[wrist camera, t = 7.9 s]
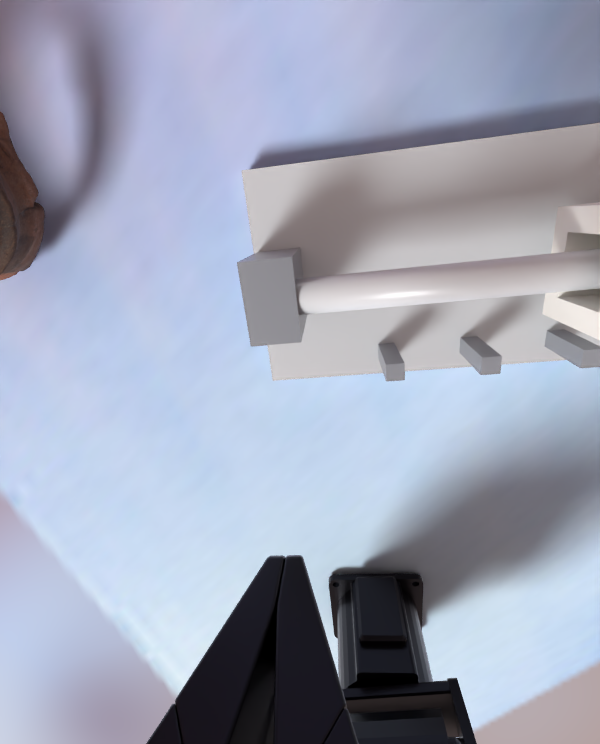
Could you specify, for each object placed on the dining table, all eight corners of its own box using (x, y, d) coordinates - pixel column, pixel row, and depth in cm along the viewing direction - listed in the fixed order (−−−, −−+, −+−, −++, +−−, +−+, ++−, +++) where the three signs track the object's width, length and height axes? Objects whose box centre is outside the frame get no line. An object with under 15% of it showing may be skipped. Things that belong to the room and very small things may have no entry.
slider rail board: (275, 373, 21) (251, 444, 14) (246, 172, 17) (195, 146, 10) (710, 341, 18) (917, 409, 12) (790, 100, 14) (1159, 9, 8)
